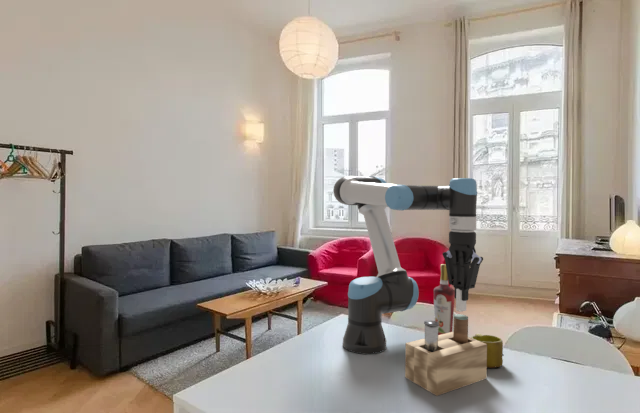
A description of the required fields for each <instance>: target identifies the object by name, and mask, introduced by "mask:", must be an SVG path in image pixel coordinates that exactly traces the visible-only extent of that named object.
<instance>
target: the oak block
mask: <svg viewBox="0 0 640 413" xmlns="http://www.w3.org/2000/svg"><path fill="white" fill-rule="evenodd" d="M453 333H454V331H452V332H449V333H445V334H441V335H438V351H435V352H430V351H428V350H425V337H424V338H421V339H416V340H412V341H409V342H405V363H404V367H405V368H404V374H405V375H404V377H405V378H406V379H407V380H408V381H411V382H413V383H414V384H416V385H417V386H418V387H421V388H423V389H424V390H426V391H428V392H429V393H431V394H433V395H435V396H436V397H437V396H440V395H443V394H446V393H450V392H452V391H455V390H458V389H460V388H464V387H466V386H469V385H471V384H472V385H473V384H475V383H477V382H480V381H483V380H486V379H487V372H488V371H487V369H488V368H487V344H485V343H483V342H480V341H477V340H475V339H472V338H471V337H469V336H468V343H464V344H460V343H457V342H455V341H453Z"/></svg>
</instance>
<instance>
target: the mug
mask: <svg viewBox="0 0 640 413" xmlns="http://www.w3.org/2000/svg"><path fill="white" fill-rule="evenodd" d="M470 338H472V339H475V340H477V341H480V342H483V343H485V344H487V369H495V368H499V367H502V365H503V362H504V359H503V353H504V351H503V350H504V342H503V339H502V338H501V337H499V336H496V335H491V334H482V333H476V334H475V335H472V336H471V337H470Z"/></svg>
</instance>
